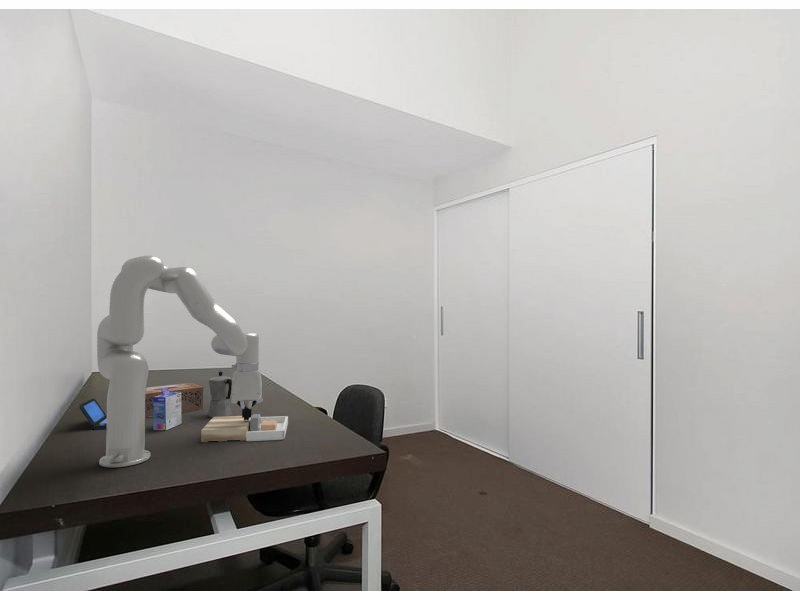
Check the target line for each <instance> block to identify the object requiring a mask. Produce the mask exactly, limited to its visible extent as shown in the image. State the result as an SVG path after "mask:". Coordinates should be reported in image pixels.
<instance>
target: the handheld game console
mask: <svg viewBox="0 0 800 600" xmlns="http://www.w3.org/2000/svg"><path fill="white" fill-rule="evenodd" d="M78 408H79V410H80V412H81V413H82V414H83V415H84V417H85V419H86V420H87V422H88V423H89V424H90V425H91V427H90V429H91V430H92V431H93V429H94V430H107V413H105V411H104V410H103V408H102V406H100V404H99V403H98V401H97V400H96V399H95V398H91V399H89V400H87V401H85V402H83V403H81V404H80V405H79V406H78Z"/></svg>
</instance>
